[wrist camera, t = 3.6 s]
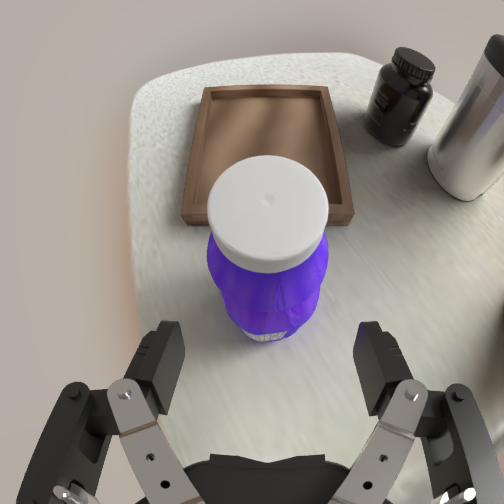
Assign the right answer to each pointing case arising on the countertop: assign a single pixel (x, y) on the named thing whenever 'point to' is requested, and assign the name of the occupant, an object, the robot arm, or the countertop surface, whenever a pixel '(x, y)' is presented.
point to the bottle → (268, 244)
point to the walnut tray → (266, 141)
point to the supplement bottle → (400, 97)
